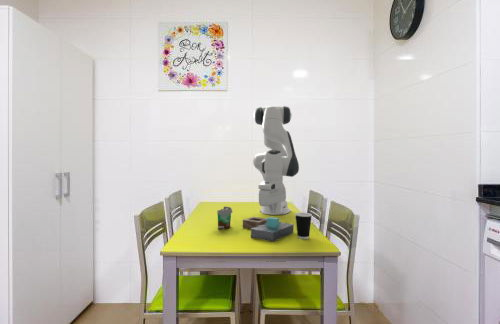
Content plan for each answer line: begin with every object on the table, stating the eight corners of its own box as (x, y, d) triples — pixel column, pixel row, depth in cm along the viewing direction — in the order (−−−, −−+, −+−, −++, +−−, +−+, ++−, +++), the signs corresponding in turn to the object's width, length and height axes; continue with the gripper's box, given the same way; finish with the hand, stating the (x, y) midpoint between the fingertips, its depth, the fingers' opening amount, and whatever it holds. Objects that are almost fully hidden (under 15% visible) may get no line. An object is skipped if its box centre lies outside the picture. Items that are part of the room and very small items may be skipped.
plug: (269, 233, 152) (270, 217, 151) (278, 234, 149) (279, 218, 148) (266, 234, 149) (266, 218, 149) (275, 236, 146) (276, 219, 146)
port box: (272, 228, 160) (272, 220, 160) (293, 232, 154) (293, 223, 154) (250, 237, 144) (250, 227, 144) (273, 241, 137) (273, 231, 137)
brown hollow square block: (253, 223, 171) (253, 216, 171) (268, 226, 165) (268, 219, 165) (242, 227, 163) (242, 219, 162) (258, 230, 157) (258, 222, 157)
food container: (228, 230, 156) (228, 211, 155) (217, 230, 157) (217, 210, 157) (234, 225, 168) (235, 206, 167) (224, 224, 169) (224, 206, 169)
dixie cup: (292, 235, 147) (292, 212, 147) (307, 234, 149) (307, 212, 149) (298, 240, 139) (299, 216, 139) (314, 239, 141) (315, 215, 141)
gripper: (278, 181, 158) (277, 208, 159) (256, 185, 142) (256, 215, 142) (289, 182, 155) (288, 209, 156) (268, 186, 138) (267, 217, 139)
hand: (273, 212), depth 149 cm, fingers closed
